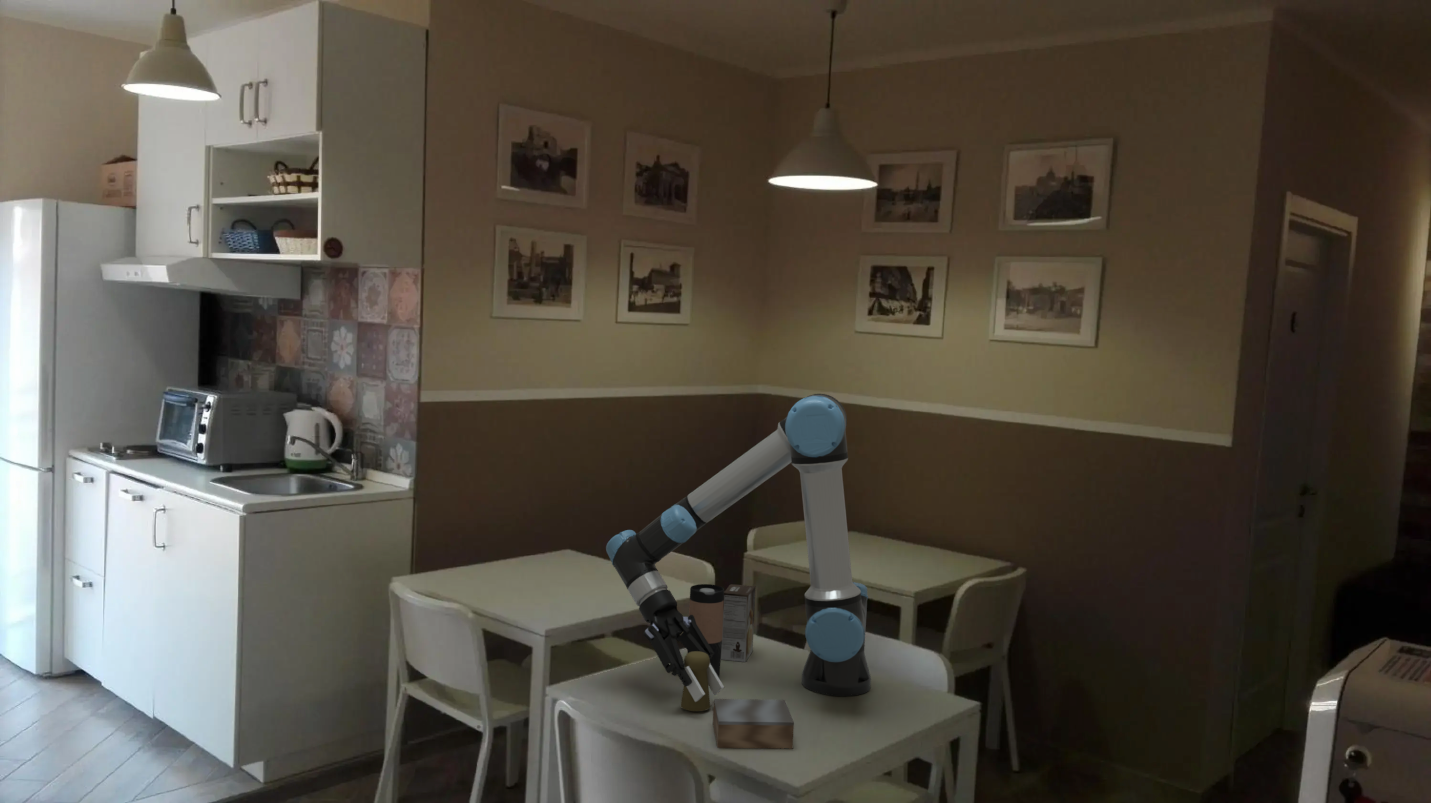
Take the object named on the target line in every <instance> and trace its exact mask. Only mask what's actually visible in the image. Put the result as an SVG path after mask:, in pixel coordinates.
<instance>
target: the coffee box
mask: <svg viewBox="0 0 1431 803" xmlns="http://www.w3.org/2000/svg"><path fill="white" fill-rule="evenodd" d="M755 600H756V586H755V585H746V584H745V585H744V584H743V585H742V584H729V585H728V586H727V588H726V589H724V604H723V632H722V649H721V661H722V660H723V661H733V662H742V663H746V662H747V661H748V659H749V657H750V656H751V655H752V653H753V651H754V630H755V629H754V627H755V606H756V605H755V604H756V603H755V602H756V601H755Z"/></svg>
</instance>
